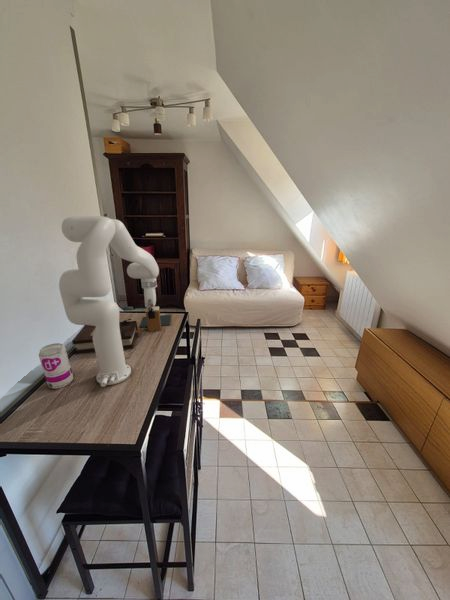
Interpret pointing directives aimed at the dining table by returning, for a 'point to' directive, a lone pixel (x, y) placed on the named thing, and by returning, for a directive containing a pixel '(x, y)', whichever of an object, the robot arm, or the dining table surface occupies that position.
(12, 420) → the dining table surface
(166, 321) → the slate mat
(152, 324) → the cardboard box
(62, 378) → the supplement can
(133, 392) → the dining table surface
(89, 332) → the decorative book
